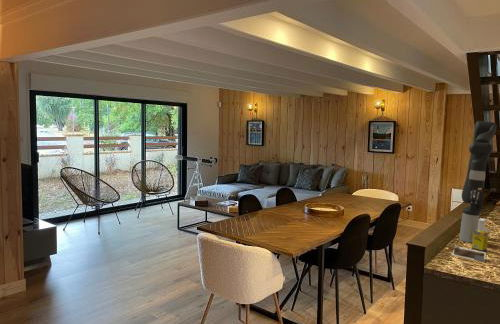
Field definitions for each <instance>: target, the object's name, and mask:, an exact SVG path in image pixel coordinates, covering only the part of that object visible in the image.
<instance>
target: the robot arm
mask: <svg viewBox="0 0 500 324" xmlns="http://www.w3.org/2000/svg"><path fill="white" fill-rule="evenodd" d="M496 133H497V124H496V122H493V121H485V120H478V121H476V122H475V125H474V130H473V139H472V142H471V143H470V145H469V148H468V150H469V153H470V156H469V161H468V166H467V172H466V176H465V181H464V184H463V188H462V190H461V200H462V202H463V203H465V204H468V206H465V207H464V208H463V209H462V213H461V215H462V216H461V222H460V230H459V231H460V232H459V241H461V242H466V243H471V244H472V242H473V234H474V231H476V230H478V223H479V219H480V215H481V211H482V209H483V204H484V199H485V195H484V192H483V191H482V190H481V189H484V188H485V181H486V180H485V179H486V172H487V171H486V169H487V164H488V160H489V158H490V156H491V154H492V151H493V146H492V145H493V144H491V141H492V139H494V136H496Z"/></svg>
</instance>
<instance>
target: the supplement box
mask: <svg viewBox="0 0 500 324" xmlns="http://www.w3.org/2000/svg"><path fill="white" fill-rule="evenodd" d="M489 233H490V231H489V232H486V231H481V230H476V231H474V234H473V242H472V243H471V250H476V251H481V252H485V251H487V248H488V242H489Z"/></svg>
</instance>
